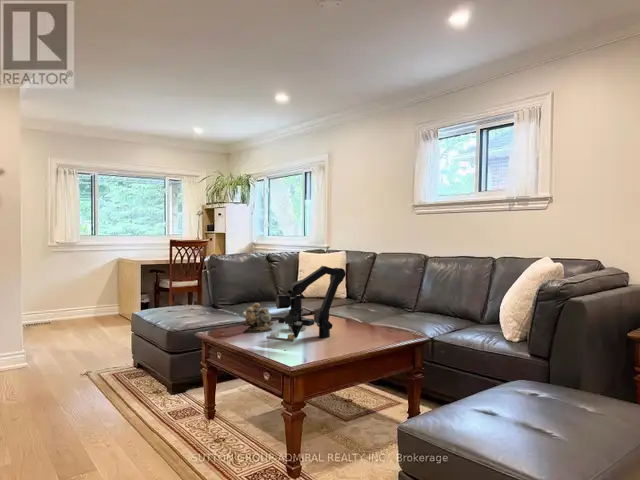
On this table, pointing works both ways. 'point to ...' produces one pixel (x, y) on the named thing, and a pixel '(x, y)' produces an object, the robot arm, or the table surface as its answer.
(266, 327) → the owl figurine
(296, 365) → the table surface
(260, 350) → the table surface
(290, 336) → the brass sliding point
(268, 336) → the plate
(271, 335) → the block
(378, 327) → the table surface
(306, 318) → the grey rounded container
